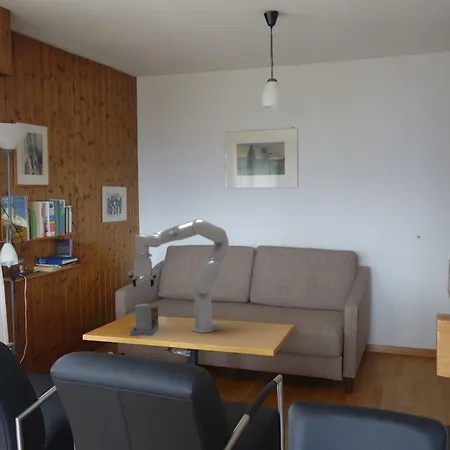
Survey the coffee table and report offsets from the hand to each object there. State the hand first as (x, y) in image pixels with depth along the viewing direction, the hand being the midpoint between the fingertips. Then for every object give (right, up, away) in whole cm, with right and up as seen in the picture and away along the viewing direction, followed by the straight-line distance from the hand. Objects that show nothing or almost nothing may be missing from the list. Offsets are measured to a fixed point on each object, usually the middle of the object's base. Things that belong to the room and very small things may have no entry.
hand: (143, 286), depth 306 cm
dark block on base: (+1, -26, +10) cm, 28 cm away
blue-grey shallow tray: (0, -26, +1) cm, 26 cm away
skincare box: (0, -26, +1) cm, 26 cm away
